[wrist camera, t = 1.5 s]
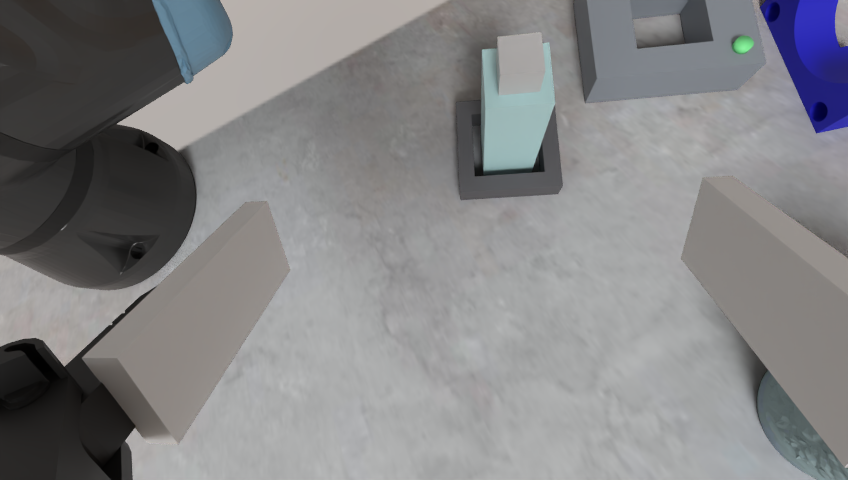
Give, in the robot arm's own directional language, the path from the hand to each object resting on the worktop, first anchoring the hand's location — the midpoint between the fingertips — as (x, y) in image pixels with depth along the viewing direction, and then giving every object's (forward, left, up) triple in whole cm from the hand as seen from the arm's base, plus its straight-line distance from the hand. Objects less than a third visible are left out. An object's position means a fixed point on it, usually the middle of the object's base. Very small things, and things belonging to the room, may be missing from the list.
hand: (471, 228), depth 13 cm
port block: (+16, +21, -20) cm, 33 cm away
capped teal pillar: (+3, +12, -21) cm, 24 cm away
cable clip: (+28, +18, -21) cm, 39 cm away
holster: (+3, +12, -20) cm, 24 cm away
